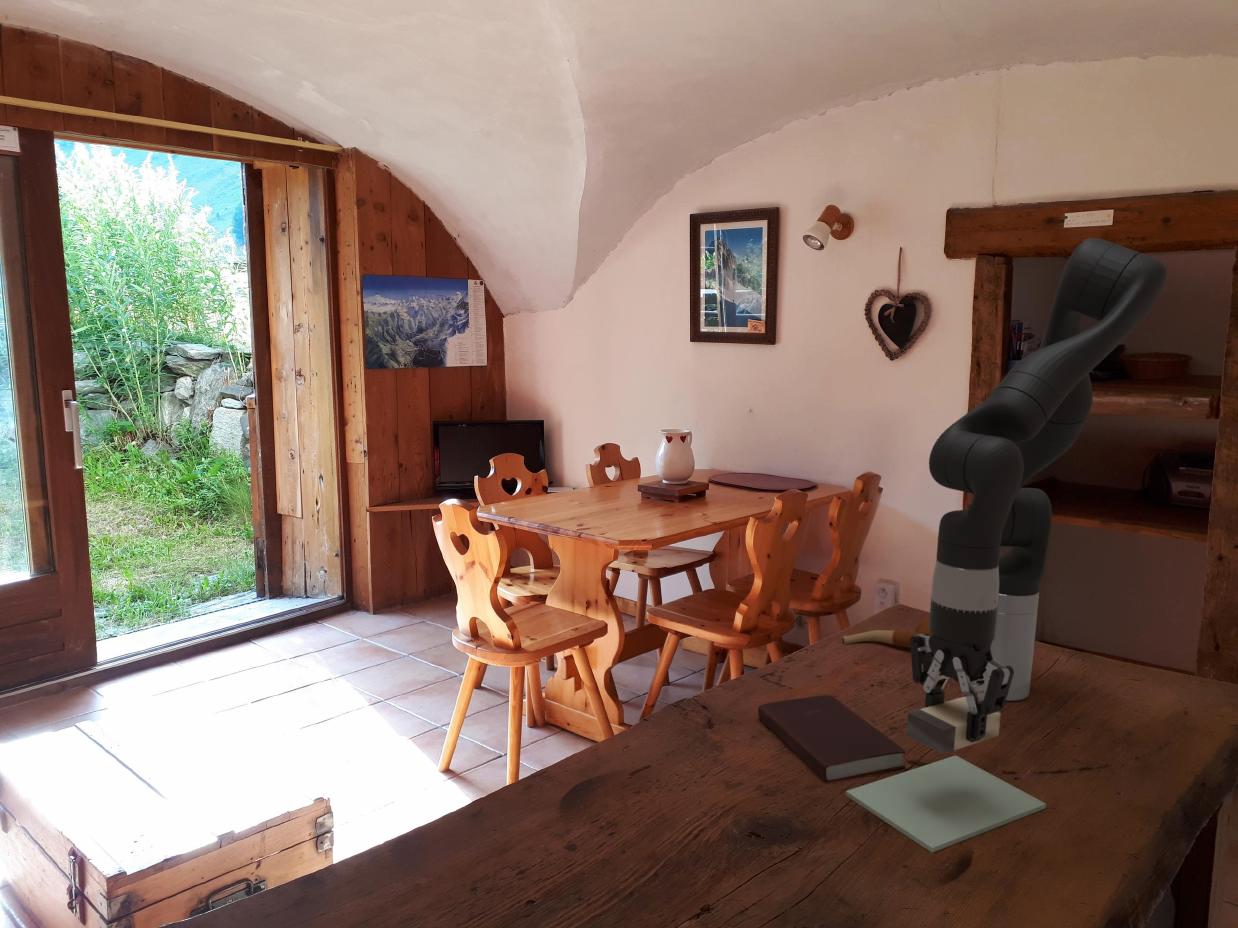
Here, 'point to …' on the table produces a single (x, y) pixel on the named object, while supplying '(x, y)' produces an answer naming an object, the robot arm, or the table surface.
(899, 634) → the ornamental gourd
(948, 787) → the rubber mat
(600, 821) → the table surface
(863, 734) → the book
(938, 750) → the cream rectangular block
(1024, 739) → the table surface
